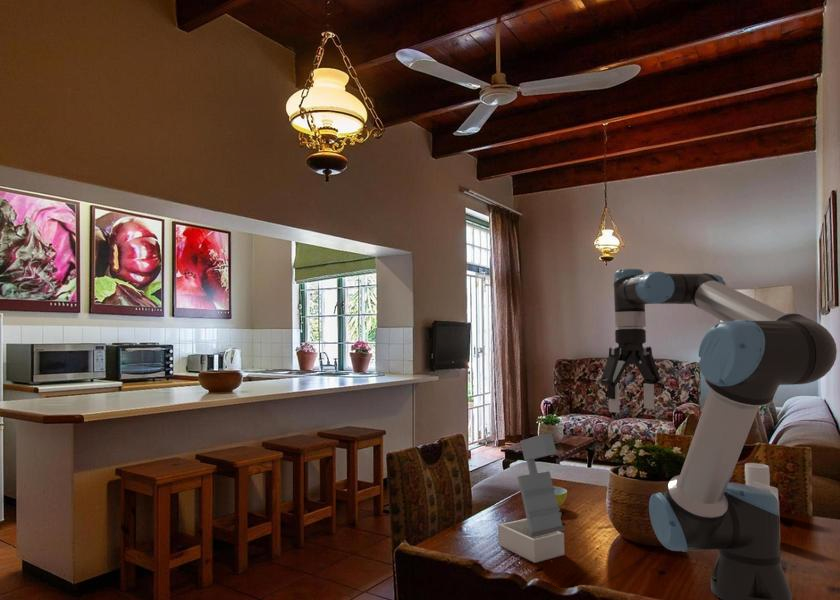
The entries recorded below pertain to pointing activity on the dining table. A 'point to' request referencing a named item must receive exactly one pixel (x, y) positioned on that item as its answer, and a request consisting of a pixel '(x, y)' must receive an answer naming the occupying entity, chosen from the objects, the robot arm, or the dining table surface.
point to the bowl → (560, 495)
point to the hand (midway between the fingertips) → (632, 410)
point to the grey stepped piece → (539, 488)
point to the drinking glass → (757, 474)
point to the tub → (530, 541)
